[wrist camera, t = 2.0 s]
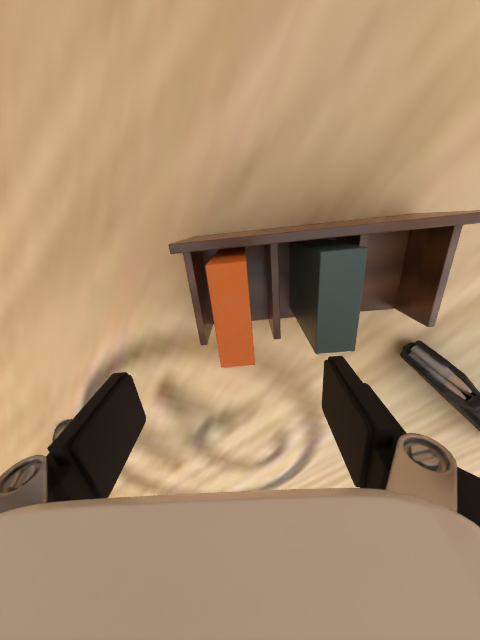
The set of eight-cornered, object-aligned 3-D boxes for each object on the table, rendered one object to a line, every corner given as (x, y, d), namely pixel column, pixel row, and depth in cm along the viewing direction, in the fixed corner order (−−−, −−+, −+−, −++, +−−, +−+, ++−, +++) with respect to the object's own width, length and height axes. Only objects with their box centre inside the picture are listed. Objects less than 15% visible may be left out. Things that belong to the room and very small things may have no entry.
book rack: (194, 236, 28) (168, 244, 18) (415, 213, 27) (515, 208, 17) (208, 322, 33) (194, 364, 23) (396, 306, 32) (466, 344, 22)
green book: (289, 240, 28) (320, 251, 17) (317, 236, 27) (368, 247, 16) (289, 309, 31) (315, 356, 20) (314, 306, 31) (354, 353, 20)
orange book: (220, 246, 28) (204, 265, 16) (244, 244, 28) (246, 261, 16) (229, 314, 32) (221, 369, 20) (250, 312, 32) (255, 367, 20)
